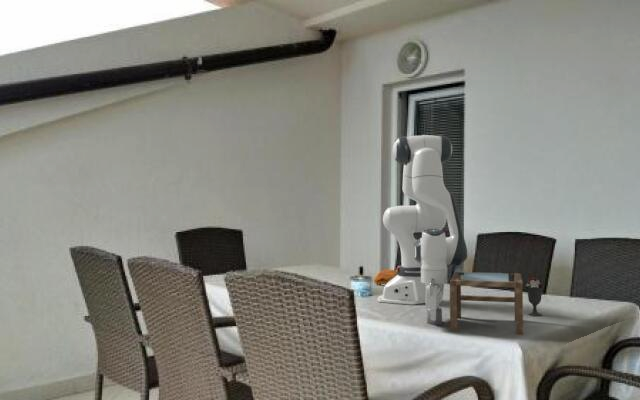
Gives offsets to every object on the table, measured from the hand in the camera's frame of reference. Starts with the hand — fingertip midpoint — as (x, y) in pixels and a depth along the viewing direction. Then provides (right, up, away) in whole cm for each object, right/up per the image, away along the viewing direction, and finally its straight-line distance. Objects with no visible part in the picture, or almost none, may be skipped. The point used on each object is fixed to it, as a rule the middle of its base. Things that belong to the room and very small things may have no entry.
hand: (434, 318), depth 201 cm
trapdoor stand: (+17, -1, -4) cm, 17 cm away
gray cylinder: (0, -2, 0) cm, 2 cm away
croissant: (-5, -1, +89) cm, 89 cm away
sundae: (+38, -1, +11) cm, 40 cm away
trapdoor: (+17, +12, -3) cm, 21 cm away
